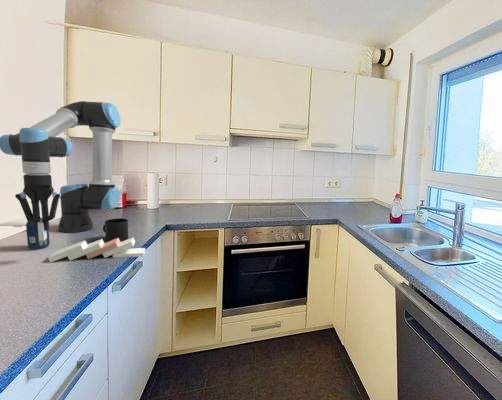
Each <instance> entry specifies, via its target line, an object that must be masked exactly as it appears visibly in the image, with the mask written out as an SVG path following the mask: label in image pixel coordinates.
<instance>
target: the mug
mask: <svg viewBox="0 0 502 400" xmlns="http://www.w3.org/2000/svg"><path fill="white" fill-rule="evenodd" d="M102 226H103V227H102V231H103V232H104V233H105V242H106V243H107V242H109V241H111V240H114V239H116V238H119V240H120V242H123V241H125V240H128V239H129V220H128V219H127V218H123V217H122V218H109V219H107V220H105V222H104V224H103V225H102Z"/></svg>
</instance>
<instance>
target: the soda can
mask: <svg viewBox="0 0 502 400" xmlns="http://www.w3.org/2000/svg"><path fill="white" fill-rule="evenodd" d="M40 219H41V220H40V221H42V217H40ZM25 228H26V229H25V230H26V240H27V247H28V248H29V249H30V250H32V251H39V250H43V249H44V250H45V249H47V248H48V247H49V246H50V233H49V232H50V229H49V230H47V231H46V233H47V238H46V239H45V240H40V241H39V235H38V231H35V226H34V222H33V221H28V220H27V222H26V224H25Z"/></svg>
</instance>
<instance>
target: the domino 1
mask: <svg viewBox="0 0 502 400" xmlns="http://www.w3.org/2000/svg"><path fill="white" fill-rule="evenodd" d="M87 245H88V243H87V240H81V241H79V242H77V243H74V244H72V245H69V246H67V247H63V248H61V249H58V250H56V251H53V252H52V253H51V254H50V255H49V256H47V258H48V260H49V262H50V263H53V262H55V261H58V260H61V259H64V258H66V257H68V256H69V255H71V254H74V253H76V252H79V251H82V250H84V248H85V247H86V246H87Z"/></svg>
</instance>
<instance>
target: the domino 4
mask: <svg viewBox="0 0 502 400" xmlns="http://www.w3.org/2000/svg"><path fill="white" fill-rule="evenodd" d="M135 243H136V240H135V237H130V238H128V239H127V240H125V241H122V242H120V244H119V246H118V247H116V248H114V249H111V250H109V251H107V252H104V253H102V254H101V255H103V258H104V259H105V258H108V257H110V256H113V254H115V253H118V252H120V251H123V250H125V249H131V248H132V247H134V246H135Z"/></svg>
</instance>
